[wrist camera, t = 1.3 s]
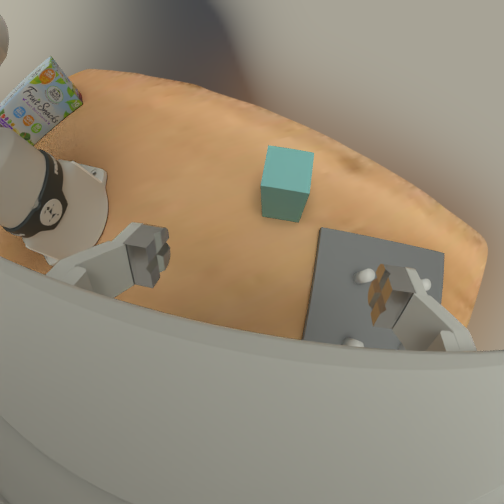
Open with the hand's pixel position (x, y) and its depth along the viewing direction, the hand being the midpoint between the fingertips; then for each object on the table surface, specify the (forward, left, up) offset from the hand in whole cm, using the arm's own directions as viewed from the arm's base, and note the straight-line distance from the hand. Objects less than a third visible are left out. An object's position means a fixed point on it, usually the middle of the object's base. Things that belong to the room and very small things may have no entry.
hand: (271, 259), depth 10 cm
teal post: (-4, +12, -25) cm, 28 cm away
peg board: (+15, +5, -25) cm, 30 cm away
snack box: (-61, +6, -26) cm, 67 cm away
